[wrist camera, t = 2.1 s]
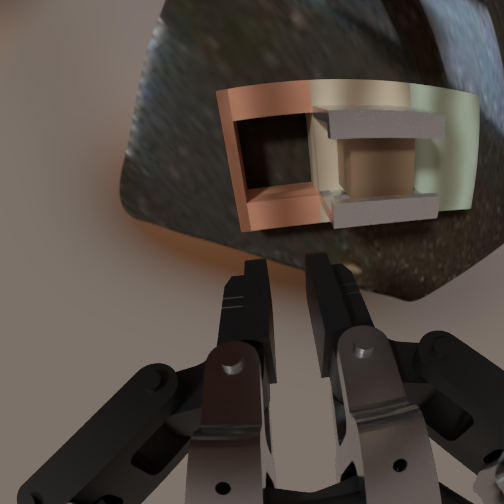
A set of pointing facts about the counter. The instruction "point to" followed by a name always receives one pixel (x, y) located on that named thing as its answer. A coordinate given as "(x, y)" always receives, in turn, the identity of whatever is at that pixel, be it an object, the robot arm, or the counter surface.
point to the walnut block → (376, 166)
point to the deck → (325, 150)
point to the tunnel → (379, 126)
